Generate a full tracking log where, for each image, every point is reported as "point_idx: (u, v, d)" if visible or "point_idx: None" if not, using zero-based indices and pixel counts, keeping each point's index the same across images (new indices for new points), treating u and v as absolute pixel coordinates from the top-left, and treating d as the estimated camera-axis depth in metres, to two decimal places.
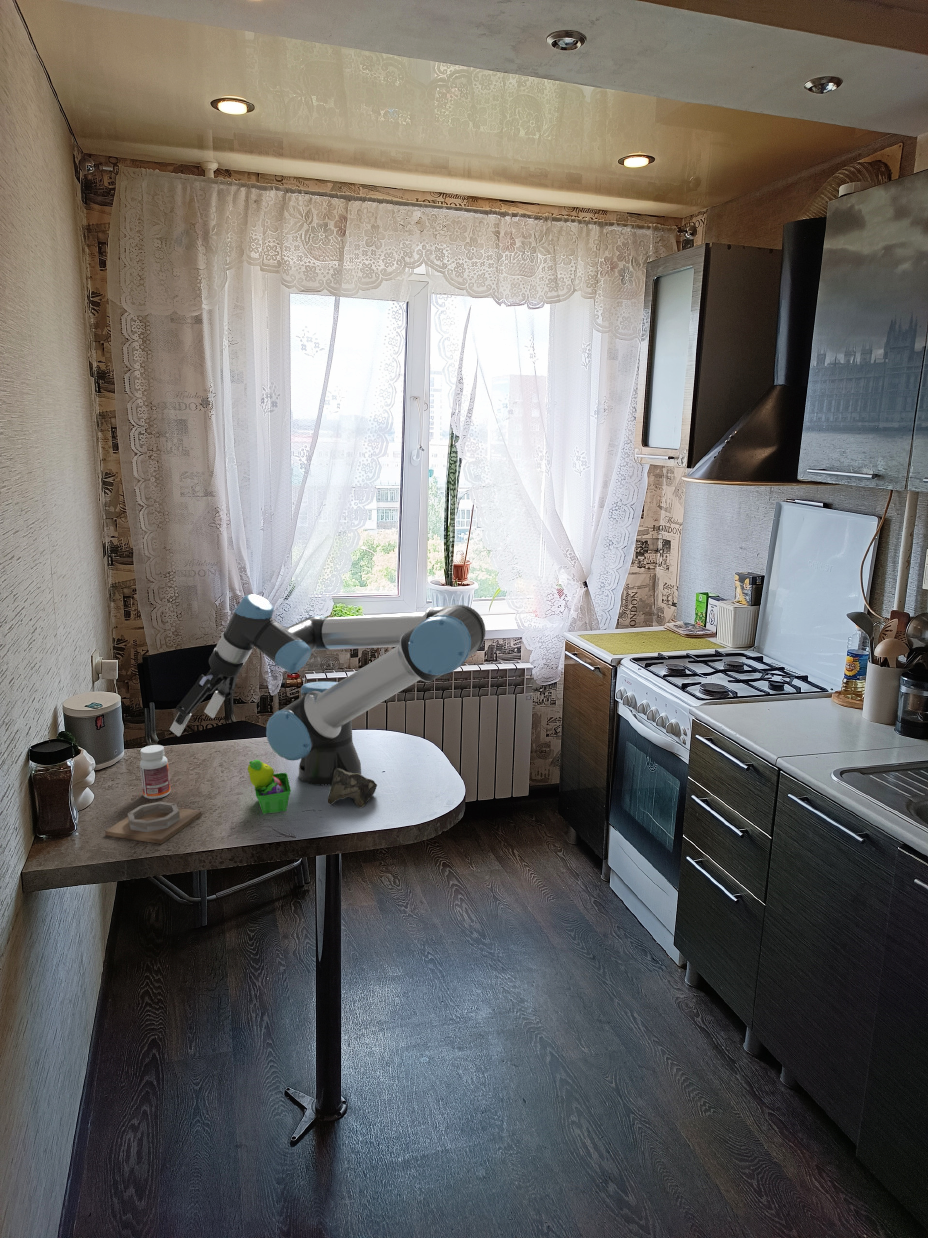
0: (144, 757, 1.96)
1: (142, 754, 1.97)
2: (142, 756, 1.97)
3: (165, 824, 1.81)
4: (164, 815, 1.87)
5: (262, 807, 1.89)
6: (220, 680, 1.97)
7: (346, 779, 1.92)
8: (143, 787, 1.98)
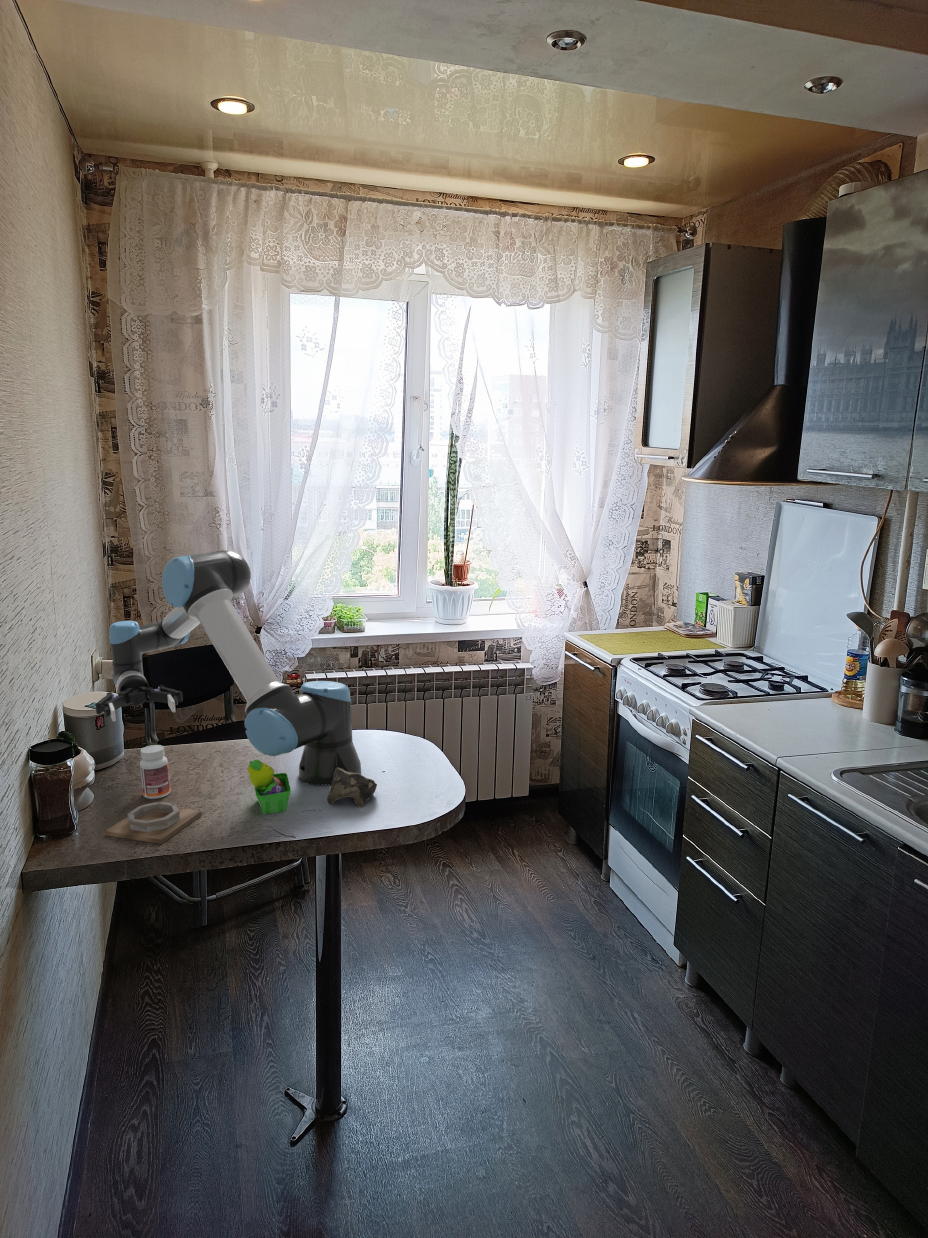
0: (144, 757, 1.96)
1: (142, 754, 1.97)
2: (142, 756, 1.97)
3: (165, 824, 1.81)
4: (164, 815, 1.87)
5: (262, 807, 1.89)
6: None
7: (346, 778, 1.92)
8: (143, 787, 1.98)
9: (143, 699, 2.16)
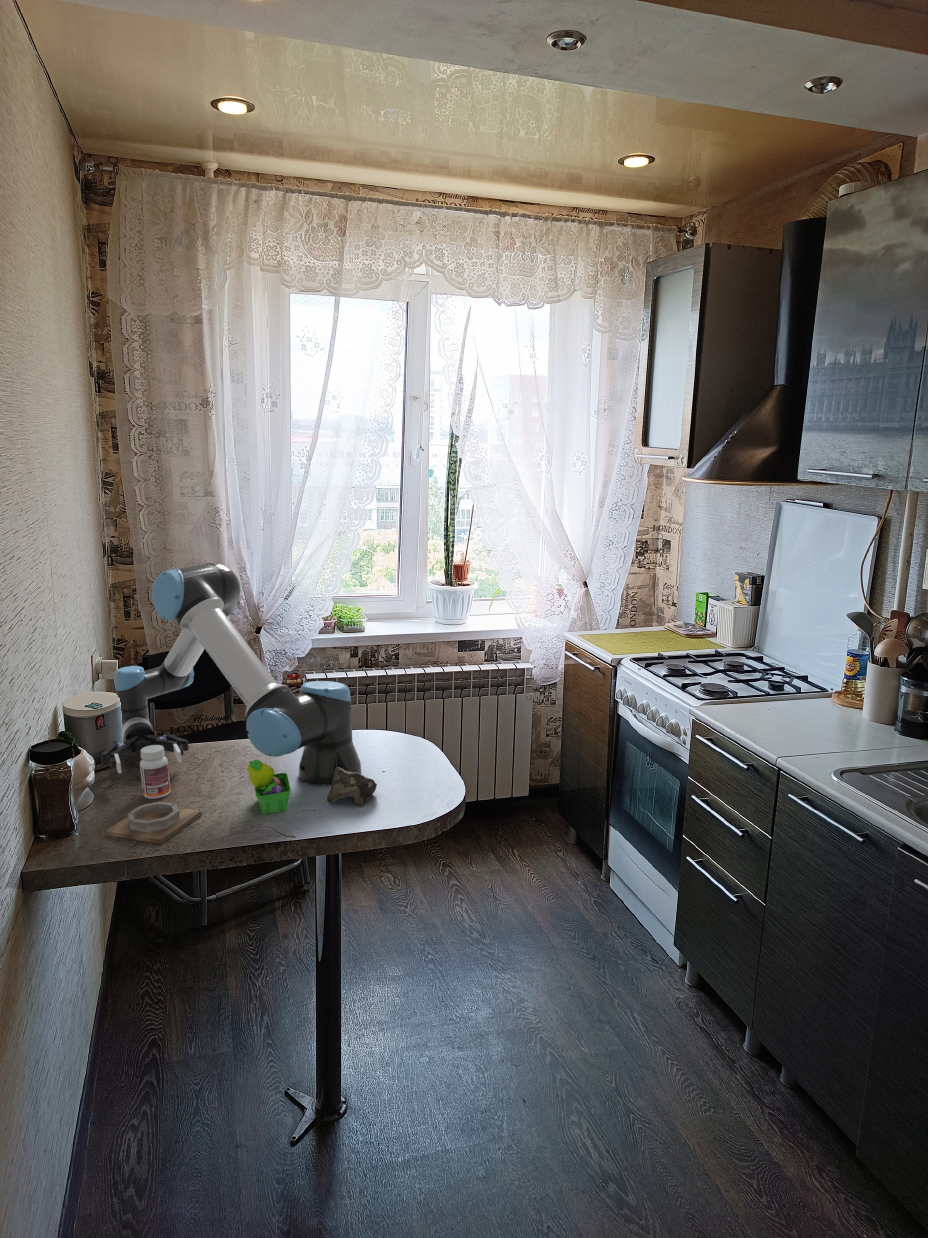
0: (144, 757, 1.96)
1: (142, 754, 1.97)
2: (142, 756, 1.97)
3: (165, 824, 1.81)
4: (164, 815, 1.87)
5: (262, 807, 1.89)
6: None
7: (346, 778, 1.92)
8: (143, 787, 1.98)
9: None
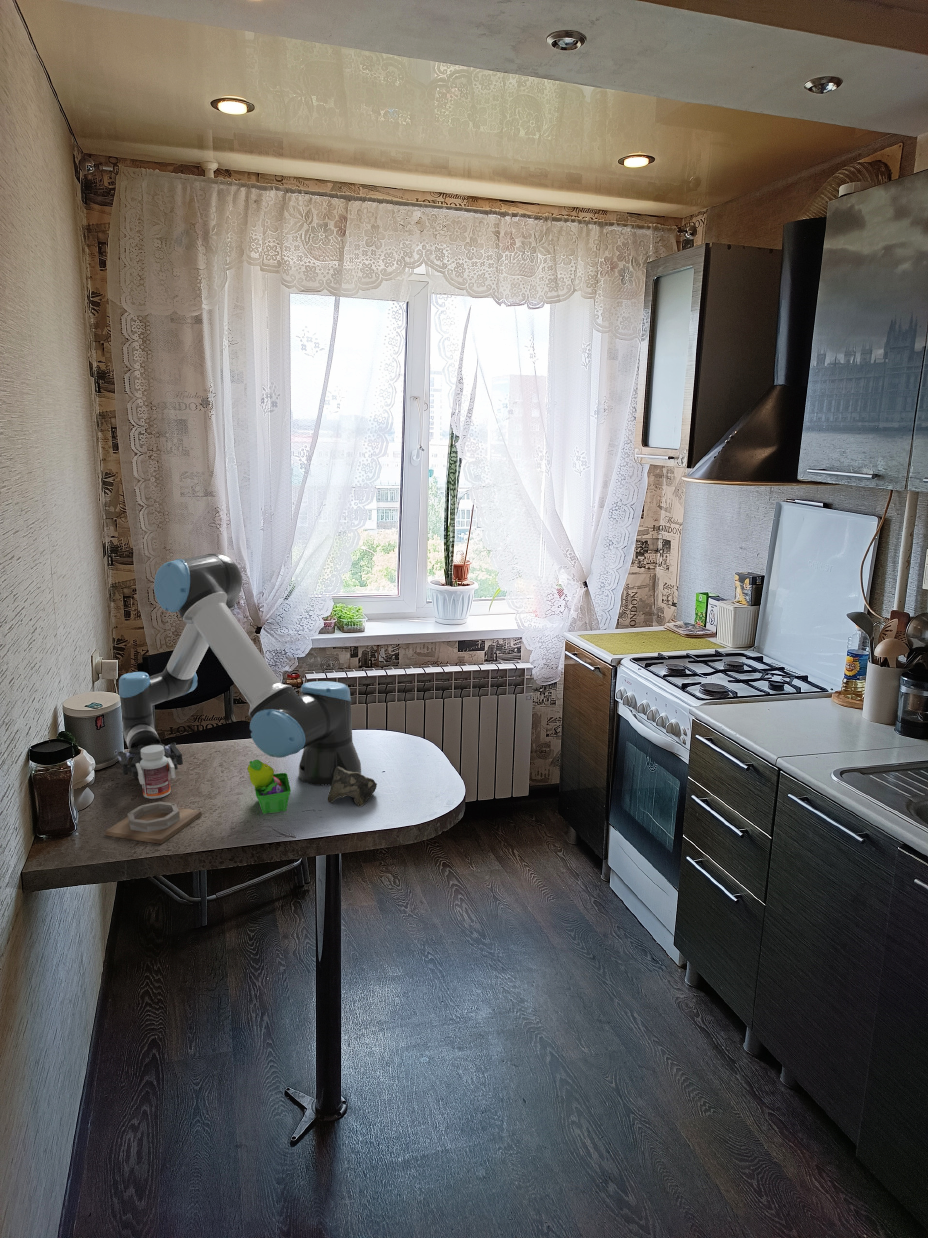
0: (144, 757, 1.96)
1: (142, 754, 1.97)
2: (142, 756, 1.97)
3: (165, 824, 1.81)
4: (164, 815, 1.87)
5: (262, 807, 1.89)
6: None
7: (346, 778, 1.92)
8: (143, 787, 1.98)
9: None
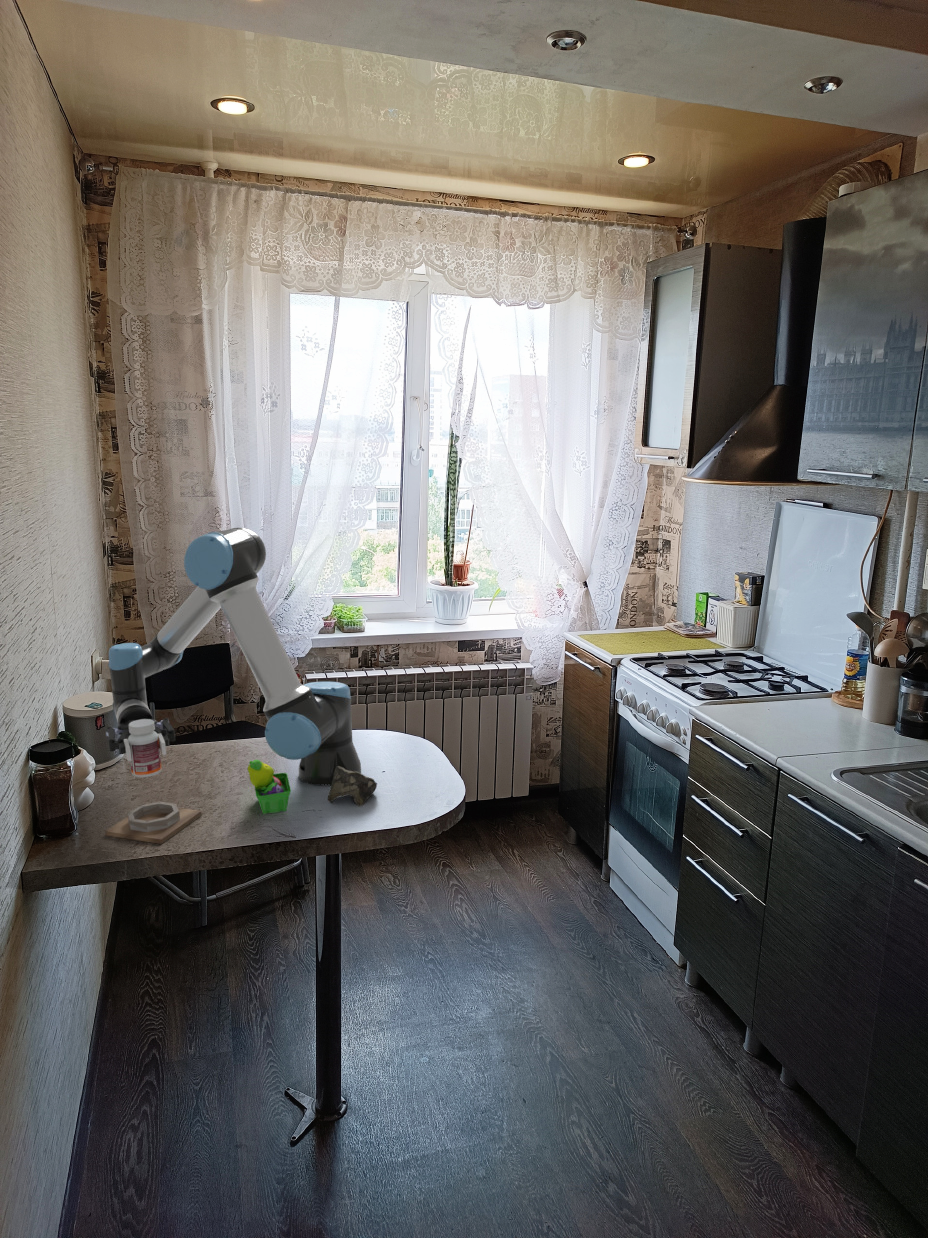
0: (132, 732, 1.80)
1: (130, 728, 1.80)
2: (130, 731, 1.80)
3: (165, 824, 1.81)
4: (164, 815, 1.87)
5: (262, 807, 1.89)
6: None
7: (346, 777, 1.93)
8: (131, 765, 1.82)
9: None
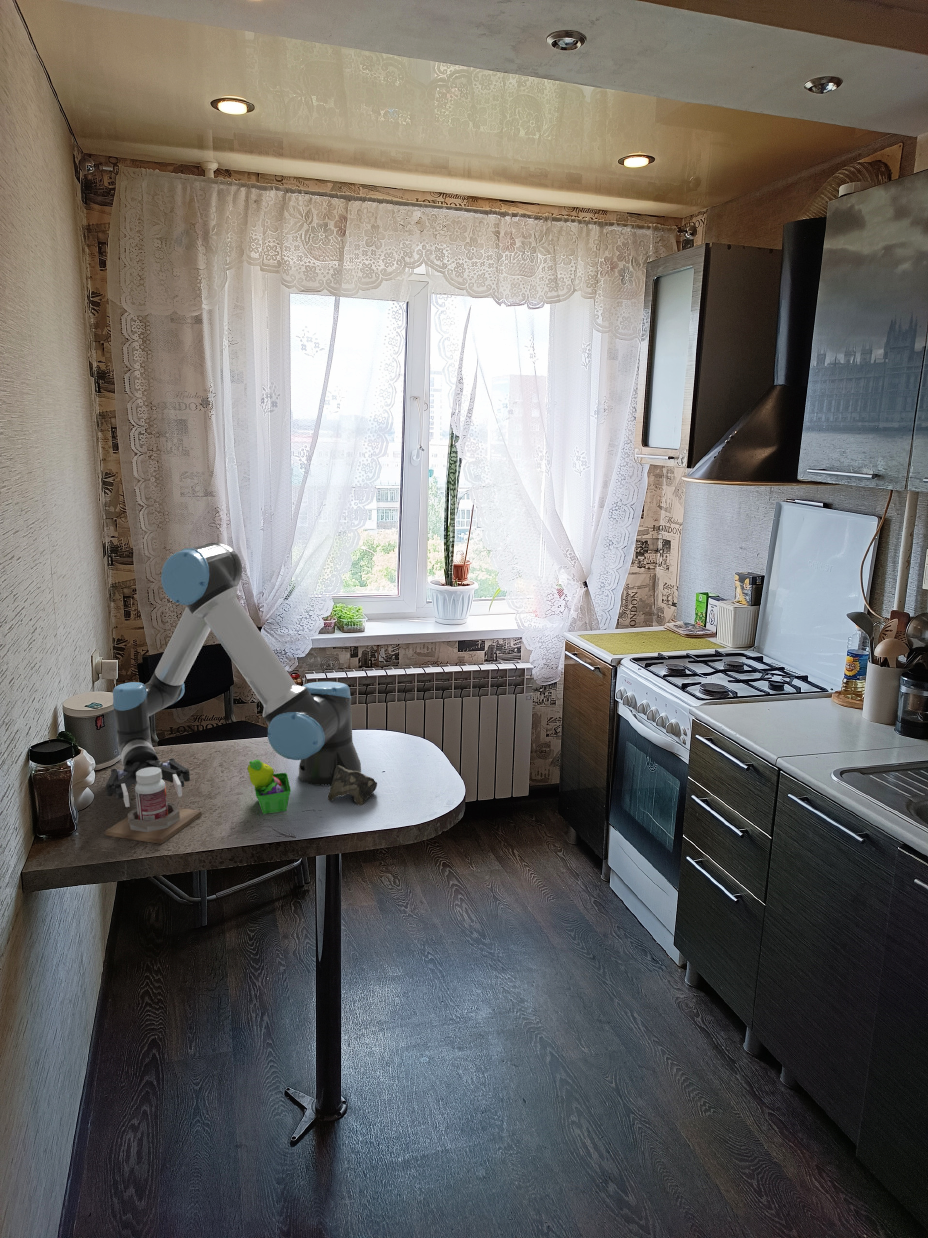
0: (140, 781, 1.80)
1: (138, 777, 1.80)
2: (138, 780, 1.81)
3: (165, 824, 1.81)
4: None
5: (262, 807, 1.89)
6: None
7: (346, 776, 1.93)
8: (138, 813, 1.82)
9: None
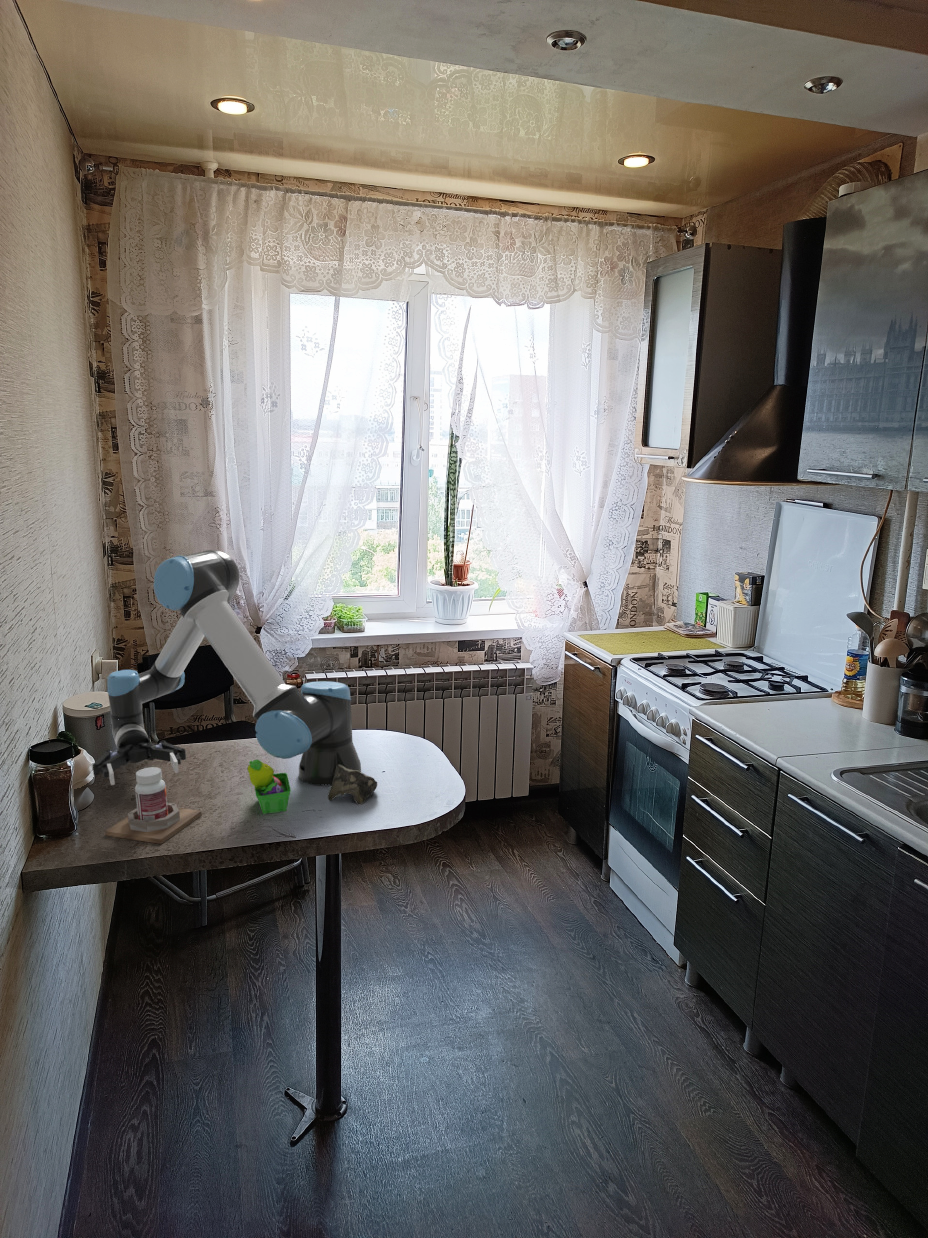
0: (140, 781, 1.80)
1: (138, 778, 1.80)
2: (138, 780, 1.81)
3: (165, 824, 1.81)
4: None
5: (262, 807, 1.89)
6: None
7: (346, 776, 1.93)
8: (139, 813, 1.82)
9: (144, 757, 2.02)
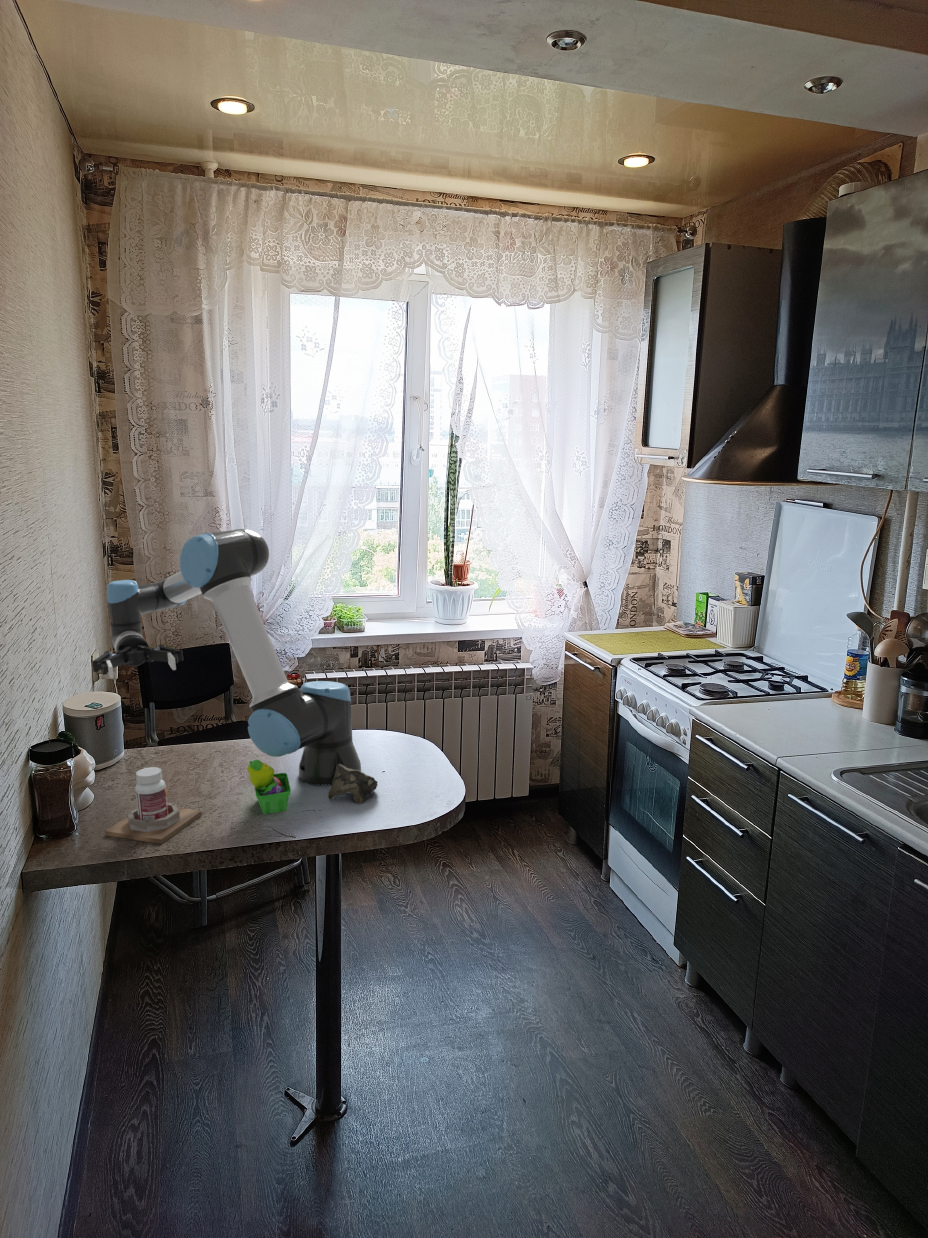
0: (140, 781, 1.80)
1: (138, 778, 1.80)
2: (138, 780, 1.81)
3: (165, 824, 1.81)
4: None
5: (262, 807, 1.89)
6: None
7: (346, 775, 1.94)
8: (139, 813, 1.82)
9: (142, 658, 2.08)
